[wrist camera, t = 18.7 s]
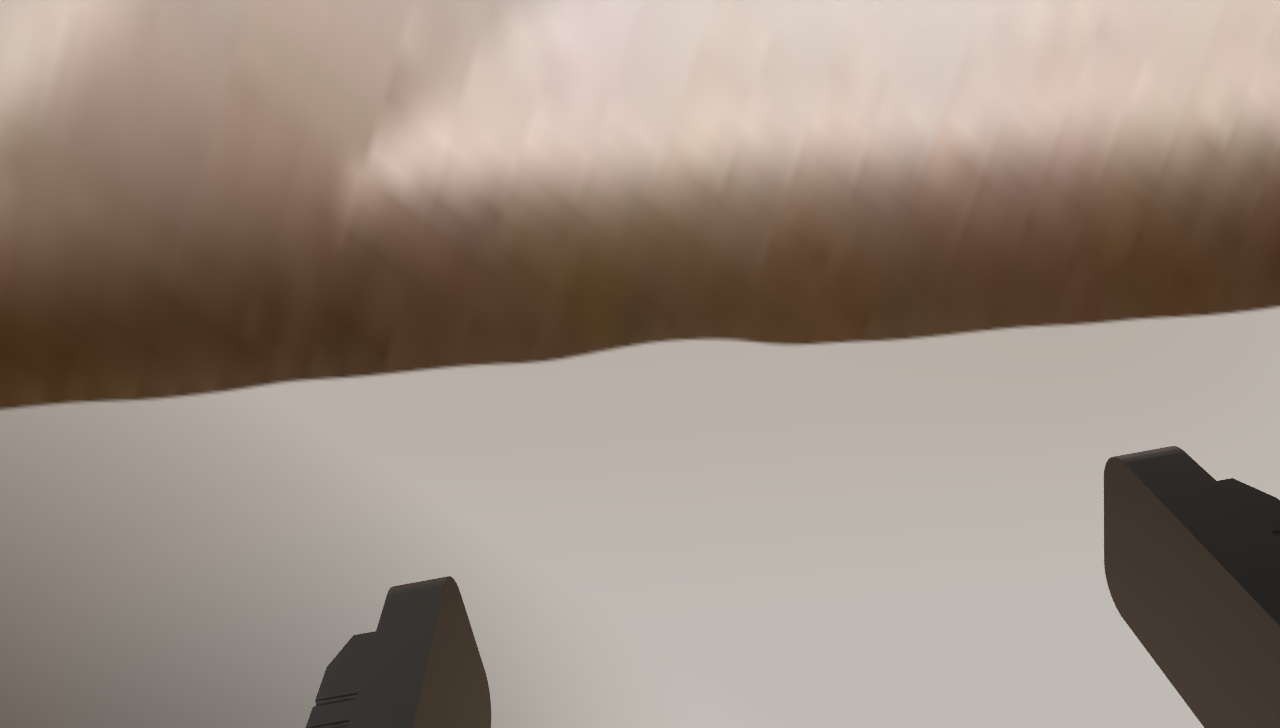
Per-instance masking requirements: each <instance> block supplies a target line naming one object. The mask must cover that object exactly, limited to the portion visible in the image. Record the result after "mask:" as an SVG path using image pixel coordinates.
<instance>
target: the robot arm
mask: <svg viewBox="0 0 1280 728" xmlns="http://www.w3.org/2000/svg"><path fill="white" fill-rule="evenodd" d="M1104 564H1105V573H1106V579H1107V583H1108V586H1109V590H1110V593H1111V596H1112V598H1113V601H1114V603H1115V605H1116V607H1117V609H1118V611H1119V613H1120V614H1121V616H1122V617H1123V619H1124V620H1125V621H1126V623H1127V624H1128V625H1129V627H1130V628H1131V629H1132V631H1133V632H1134V633H1135V635H1136V636H1137V638H1138V639H1139V640H1140V642H1141V643H1142V644H1143V646H1144V647H1145V648H1146V650H1147V651H1148V652H1149V653H1150V655H1151V656H1152V658H1153V659H1154V660H1155V662H1156V663H1157V665H1158V666H1159V667H1160V669H1161V670H1162V671H1163V673H1164V674H1165V675H1166V677H1167V678H1168V679H1169V681H1170V682H1171V683H1172V685H1173V686H1174V687H1175V689H1176V690H1177V691H1178V693H1179V694H1180V695H1181V697H1182V698H1183V699H1184V701H1185V702H1186V703H1187V705H1188V706H1189V707H1190V709H1191V710H1192V712H1193V713H1194V714H1195V716H1196V717H1197V718H1198V719H1199V721H1200V722H1201V724H1202V725H1203V726H1204V728H1280V500H1278V499H1277V498H1275V497H1273V496H1271V495H1269V494H1266V493H1264V492H1262V491H1260V490H1257V489H1255V488H1253V487H1251V486H1249V485H1246V484H1244V483H1242V482H1240V481H1237V480H1235V479H1233V478H1231V479H1226V480H1220V481H1216V480H1215V479H1214V478H1212V477H1211V476H1210V475H1209V474H1208V473H1207V472H1206V471H1205V470H1204V469H1203V468H1202V467H1200V466H1199V465H1198V464H1197V463H1196V462H1195V461H1194V460H1193V459H1192V458H1191V457H1190V456H1189V455H1188V454H1186V453H1185V452H1184V451H1183V450H1182V449H1180V448H1178V447H1176V446H1171V447H1165V448H1160V449H1154V450H1149V451H1143V452H1138V453H1132V454H1127V455H1121V456H1116V457H1111V458H1110V459H1108V461H1107V463H1106V466H1105V470H1104ZM315 701H316V706H315V707H313V709H312V711H311V714H310V717H309V720H308V723H307V725H306V728H491V702H490V693H489V687H488V681H487V677H486V673H485V670H484V667H483V663H482V660H481V657H480V654H479V651H478V647H477V644H476V641H475V638H474V635H473V632H472V629H471V625H470V622H469V619H468V616H467V613H466V610H465V606H464V603H463V600H462V597H461V594H460V591H459V588H458V586H457V584H456V582H455V580H454V579H453V578H452V577H443V578H438V579H432V580H427V581H422V582H416V583H410V584H405V585H400V586H394V587H392V588H390V590H389V591H388V594H387V597H386V600H385V604H384V607H383V610H382V614H381V617H380V620H379V624H378V627H377V630H376V631H375V632H370V633H364V634H359V635H354V636H353V637H352V638H351V639H350V640H349V642H348V643H347V644H346V645H345V646H344V647H343V649H342V650H341V651H340V652H339V653H338V655H337V656H336V657H335V658H334V659H333V661H332V662H331V663H330V664H329V665H328V666H327V669H326V671H325V674H324V677H323V680H322V683H321V685H320V688H319V692H318V694H317V697H316V700H315Z"/></svg>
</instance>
